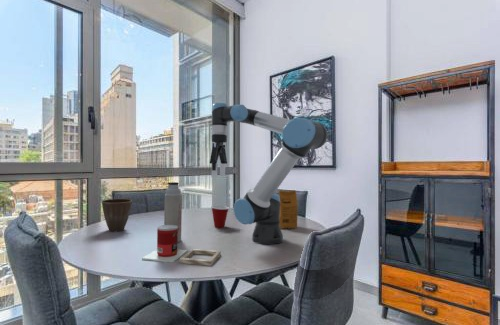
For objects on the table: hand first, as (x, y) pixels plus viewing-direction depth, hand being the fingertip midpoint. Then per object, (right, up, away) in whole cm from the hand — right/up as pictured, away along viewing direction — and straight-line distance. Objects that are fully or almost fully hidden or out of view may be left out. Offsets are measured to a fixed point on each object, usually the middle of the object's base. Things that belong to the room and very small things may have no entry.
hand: (218, 176), depth 142 cm
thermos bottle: (-21, -31, -7) cm, 38 cm away
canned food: (-18, -30, -28) cm, 45 cm away
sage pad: (-18, -30, -28) cm, 45 cm away
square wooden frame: (-4, -31, -31) cm, 44 cm away
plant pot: (-57, -30, +12) cm, 66 cm away
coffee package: (+37, -32, +25) cm, 55 cm away
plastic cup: (-2, -31, +24) cm, 39 cm away
